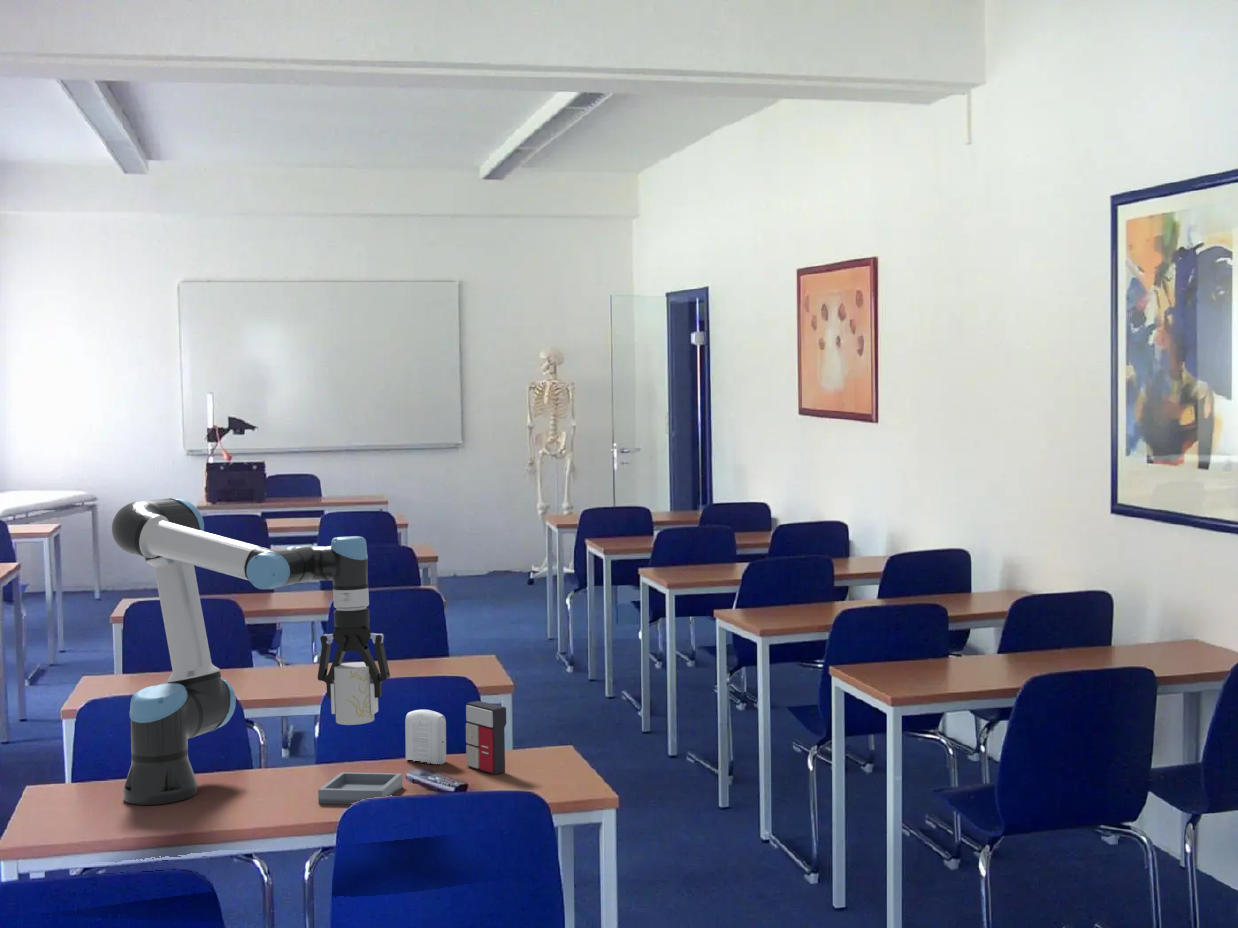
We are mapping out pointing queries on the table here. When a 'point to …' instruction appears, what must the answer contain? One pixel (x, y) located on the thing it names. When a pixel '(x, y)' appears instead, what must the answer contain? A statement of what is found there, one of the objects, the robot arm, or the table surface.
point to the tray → (359, 787)
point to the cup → (353, 694)
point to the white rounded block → (425, 736)
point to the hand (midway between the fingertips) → (355, 712)
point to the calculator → (485, 737)
